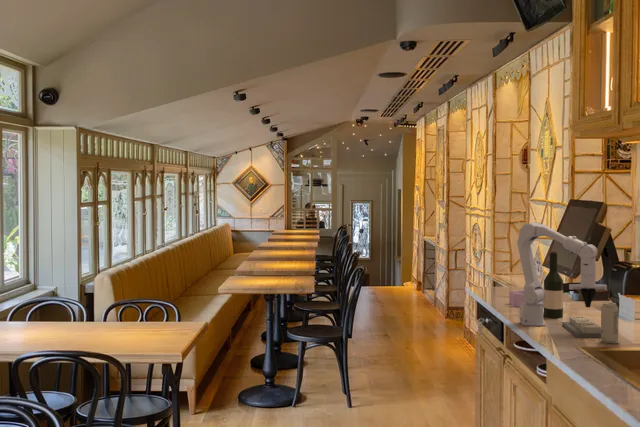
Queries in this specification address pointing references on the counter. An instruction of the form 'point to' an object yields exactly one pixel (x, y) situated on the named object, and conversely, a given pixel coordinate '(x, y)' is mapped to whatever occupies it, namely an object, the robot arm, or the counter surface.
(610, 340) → the energy drink can
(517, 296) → the pink rectangular box
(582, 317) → the knob
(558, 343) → the counter surface
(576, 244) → the robot arm
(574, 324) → the mount board
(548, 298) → the wine bottle
